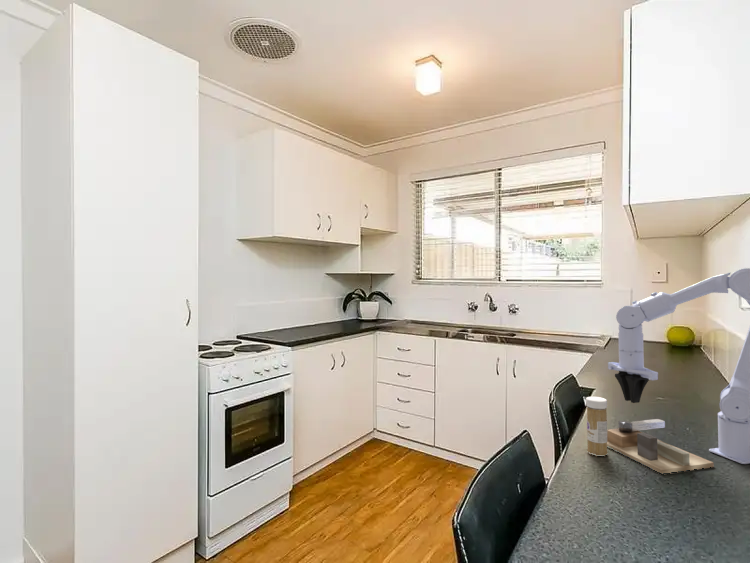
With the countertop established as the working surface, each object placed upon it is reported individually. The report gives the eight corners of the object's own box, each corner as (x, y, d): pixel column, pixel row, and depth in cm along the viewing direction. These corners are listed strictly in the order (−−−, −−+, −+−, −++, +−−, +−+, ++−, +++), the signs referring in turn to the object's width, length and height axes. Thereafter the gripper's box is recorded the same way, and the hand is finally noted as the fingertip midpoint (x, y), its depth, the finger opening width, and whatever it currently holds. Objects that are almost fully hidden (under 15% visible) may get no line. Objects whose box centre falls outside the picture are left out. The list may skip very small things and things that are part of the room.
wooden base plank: (645, 438, 112) (645, 415, 112) (713, 467, 95) (713, 440, 95) (600, 444, 109) (599, 420, 109) (661, 474, 91) (661, 446, 91)
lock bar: (625, 433, 105) (625, 425, 105) (615, 429, 108) (615, 421, 108) (666, 428, 108) (666, 420, 108) (656, 424, 111) (656, 416, 111)
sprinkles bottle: (583, 450, 105) (581, 396, 105) (600, 449, 106) (599, 395, 106) (594, 458, 101) (593, 401, 101) (612, 457, 101) (611, 400, 101)
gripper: (598, 347, 120) (599, 395, 120) (641, 355, 106) (642, 410, 106) (619, 346, 121) (620, 393, 121) (664, 354, 107) (665, 408, 107)
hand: (632, 401), depth 114 cm, fingers closed
